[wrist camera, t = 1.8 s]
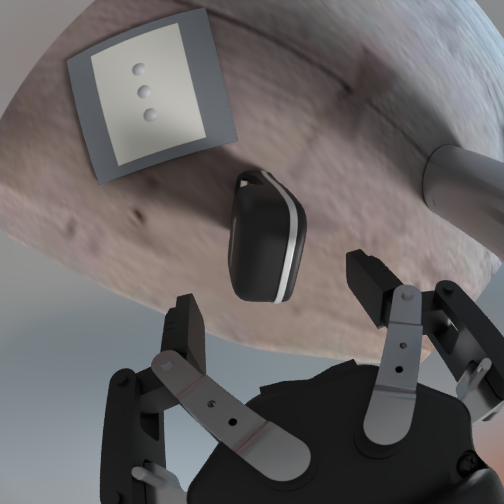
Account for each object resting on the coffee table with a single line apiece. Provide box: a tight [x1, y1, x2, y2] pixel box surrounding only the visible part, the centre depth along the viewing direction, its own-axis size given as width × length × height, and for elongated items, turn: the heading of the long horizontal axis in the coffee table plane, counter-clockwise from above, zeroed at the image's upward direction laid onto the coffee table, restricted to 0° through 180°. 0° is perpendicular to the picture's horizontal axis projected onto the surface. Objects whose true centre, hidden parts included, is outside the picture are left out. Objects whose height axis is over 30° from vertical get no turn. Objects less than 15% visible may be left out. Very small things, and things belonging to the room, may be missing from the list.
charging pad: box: [67, 7, 238, 185], centre depth 19 cm, size 13×13×1 cm
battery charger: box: [228, 171, 307, 303], centre depth 20 cm, size 7×4×11 cm, turn 171°
